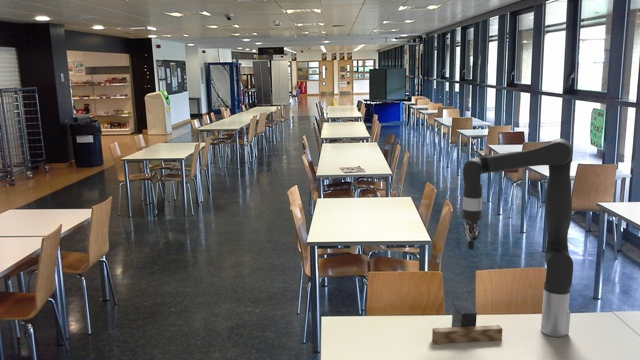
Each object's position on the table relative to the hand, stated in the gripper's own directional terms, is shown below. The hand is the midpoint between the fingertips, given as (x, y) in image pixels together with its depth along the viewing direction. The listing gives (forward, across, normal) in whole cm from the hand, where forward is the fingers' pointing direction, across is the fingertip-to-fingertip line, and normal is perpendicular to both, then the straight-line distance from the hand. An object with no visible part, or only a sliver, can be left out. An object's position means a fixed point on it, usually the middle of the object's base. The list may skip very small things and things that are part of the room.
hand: (470, 249), depth 223 cm
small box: (+29, -15, +7) cm, 33 cm away
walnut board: (+29, -22, +8) cm, 37 cm away
